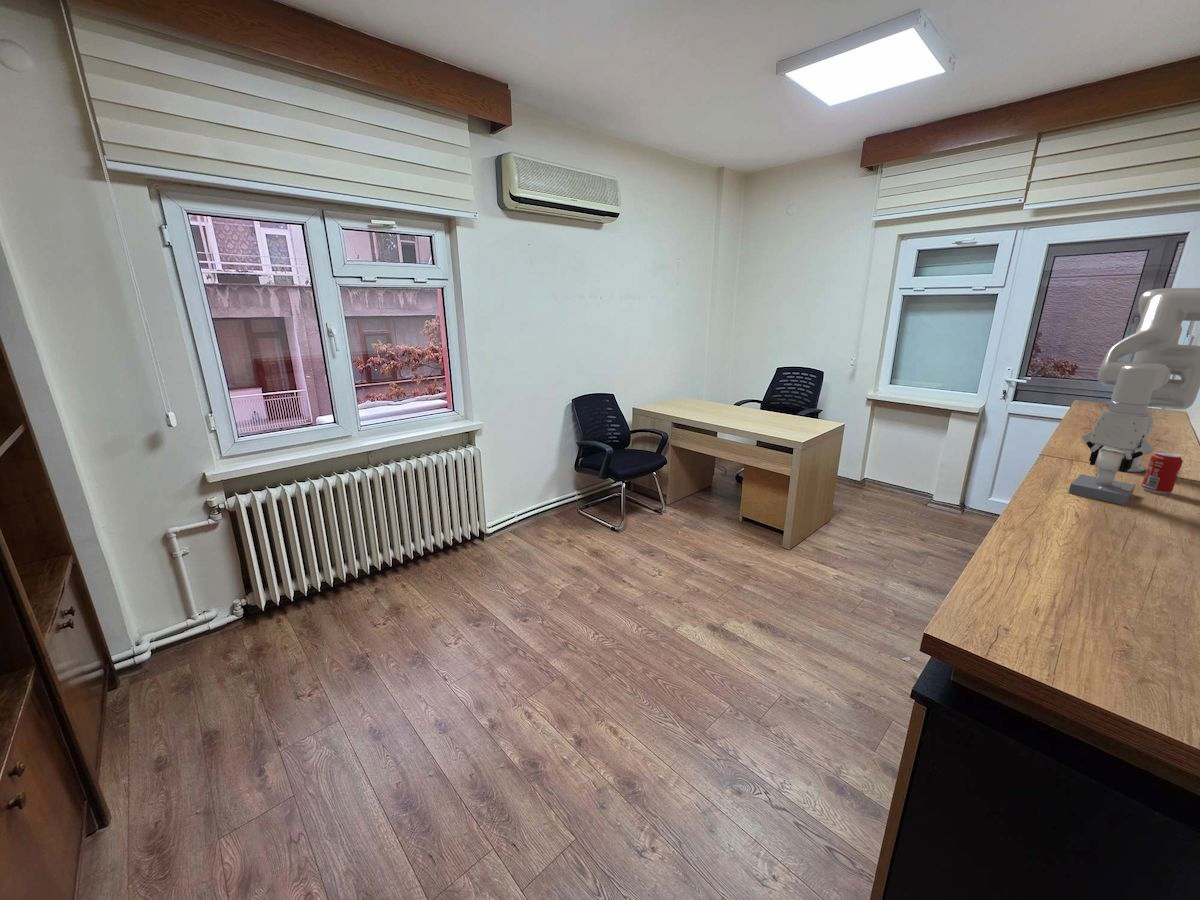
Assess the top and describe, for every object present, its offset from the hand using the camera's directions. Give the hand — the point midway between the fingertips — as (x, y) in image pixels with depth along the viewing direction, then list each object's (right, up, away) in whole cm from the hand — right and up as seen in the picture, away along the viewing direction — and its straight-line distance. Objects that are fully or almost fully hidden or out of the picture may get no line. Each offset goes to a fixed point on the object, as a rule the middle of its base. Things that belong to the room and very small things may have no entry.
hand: (1108, 467), depth 144 cm
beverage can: (+19, -8, +4) cm, 21 cm away
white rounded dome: (0, 0, 0) cm, 0 cm away
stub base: (0, -8, +3) cm, 8 cm away
